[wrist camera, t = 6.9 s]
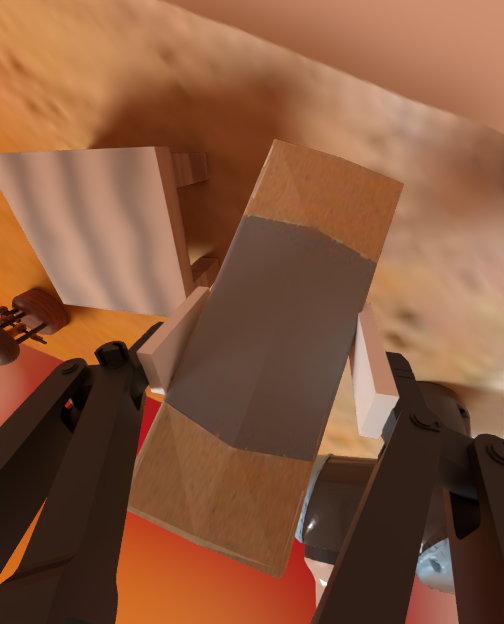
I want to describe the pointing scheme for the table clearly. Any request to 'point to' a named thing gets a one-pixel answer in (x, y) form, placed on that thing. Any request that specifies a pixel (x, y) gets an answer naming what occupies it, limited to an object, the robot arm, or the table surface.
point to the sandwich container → (266, 360)
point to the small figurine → (29, 321)
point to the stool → (109, 224)
